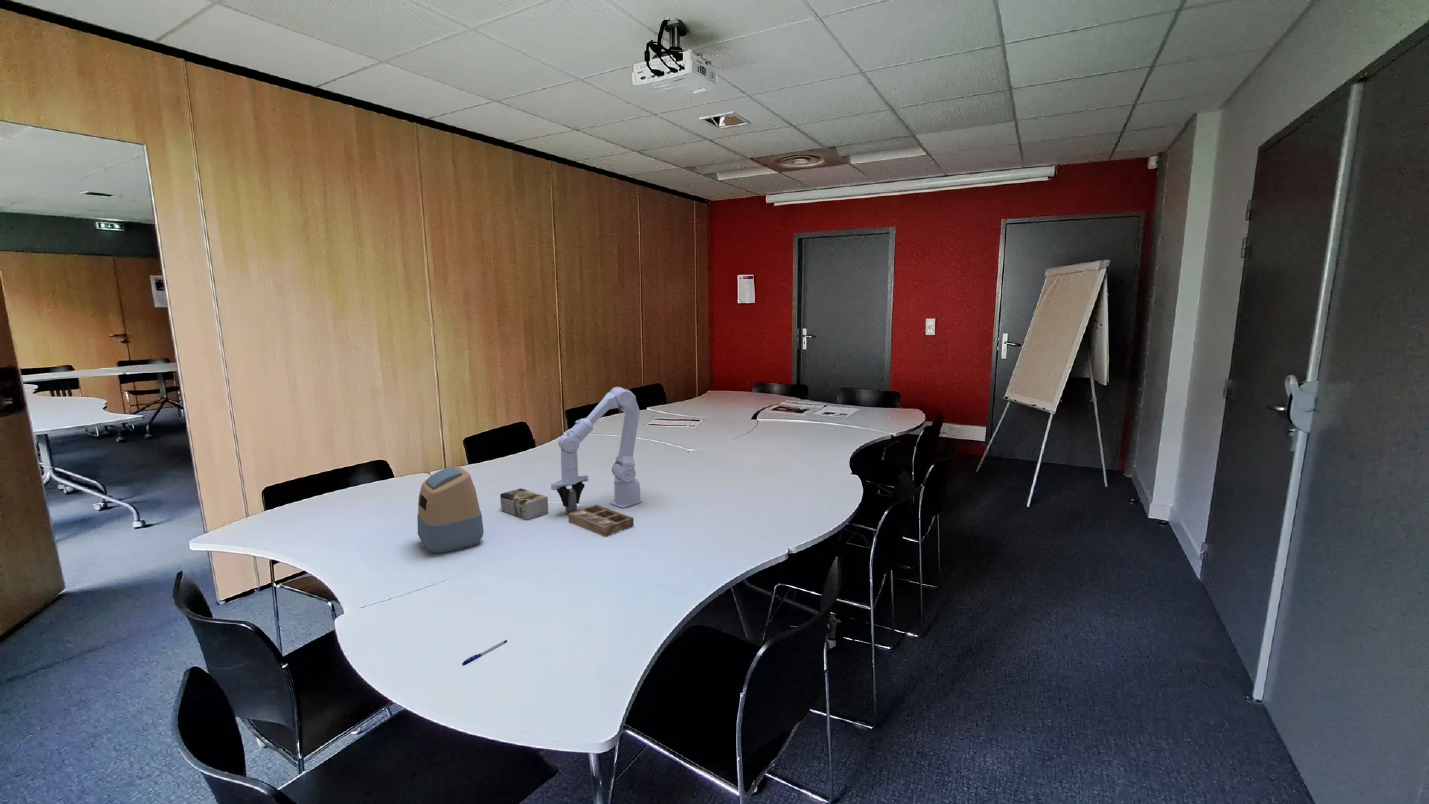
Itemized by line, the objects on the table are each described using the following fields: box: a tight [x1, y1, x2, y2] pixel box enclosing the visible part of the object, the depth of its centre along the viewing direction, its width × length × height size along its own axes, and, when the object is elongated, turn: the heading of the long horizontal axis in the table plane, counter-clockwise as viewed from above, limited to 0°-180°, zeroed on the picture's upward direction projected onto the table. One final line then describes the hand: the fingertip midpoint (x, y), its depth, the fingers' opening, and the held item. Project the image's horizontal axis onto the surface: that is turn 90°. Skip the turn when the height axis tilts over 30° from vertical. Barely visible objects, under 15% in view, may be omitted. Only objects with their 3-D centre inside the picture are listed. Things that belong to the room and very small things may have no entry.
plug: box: [564, 488, 578, 513], centre depth 205 cm, size 4×4×8 cm
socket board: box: [568, 504, 635, 537], centre depth 195 cm, size 12×20×3 cm, turn 49°
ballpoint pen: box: [461, 639, 508, 666], centre depth 122 cm, size 10×1×1 cm, turn 147°
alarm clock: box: [416, 465, 485, 554], centre depth 177 cm, size 17×17×23 cm
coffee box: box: [499, 488, 549, 521], centre depth 206 cm, size 9×6×16 cm
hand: (571, 504), depth 206 cm, fingers closed on plug, 4 cm apart
